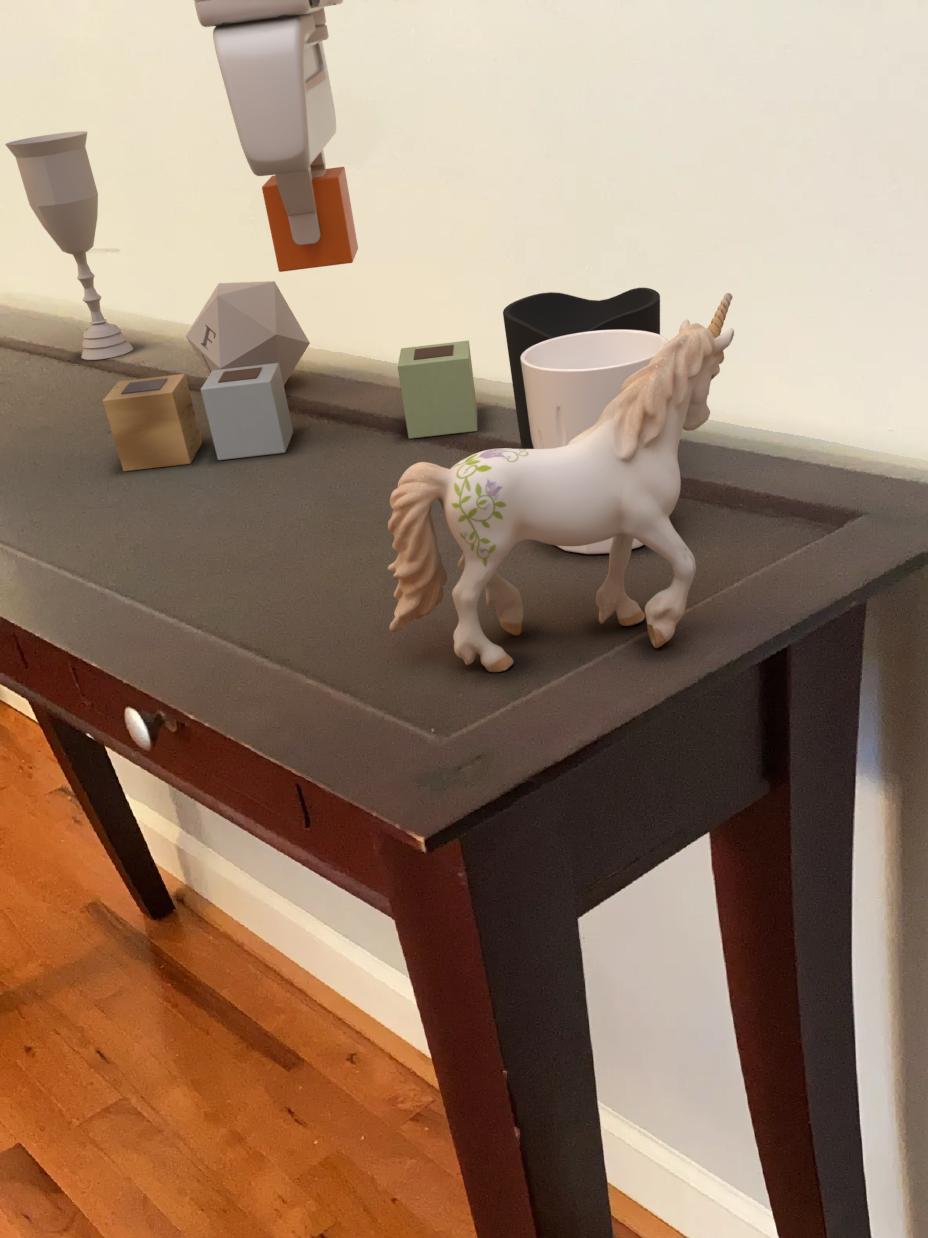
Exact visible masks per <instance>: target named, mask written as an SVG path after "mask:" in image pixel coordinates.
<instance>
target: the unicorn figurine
mask: <svg viewBox="0 0 928 1238" xmlns="http://www.w3.org/2000/svg"><path fill="white" fill-rule="evenodd" d="M732 300H733V294H732V293H730V292H726V293H725V294H724V295H723V298H722V300H720V304H719V305H718V306H717V309H716V311H715V313H714V316H713V317H712V319H711V321H710V324H709V325H708V327H707V328H706V327H705V326H704V325H702V324H700V323H697V322H694V323H690V320H689V319H687V318H685V319H684V320H683V321H682V322H681V324H680V326H679V329H678V332H679V333H677V335H676V336H674V337H673V338H671V339H670V340H668V341H669V342H668V343H667V344H666V345H665V346H664V347H663V348H662V349H661V350H660V351H659V352H658V353H657V354H656V355H655V356H654V357H653V358H652V360H651V361H650V362H649V364H648V365H647V366H646V367H644V368H642V369H640V370H639V371H637V372H636V373H634V374H633V375H631V376H630V377H629V378H628V379H626V380H625V382H624V383H623V386H622V388H621V393H620V394H619V395H618V396H617V397H616V398H615V399H613V400H612V401H611V402H610V403H609V404H608V405H607V406H606V407H605V409H604V411H603V412H602V415H601V416H600V418H599V419H598V421H597V422H596V424H595V425H593V426H592V427H591V428H589V429H587V430H586V431H584V432H582V433H581V434H579V435H578V436H576V437H575V438H574V439H572V440H571V441H570V442H569V443H568V445H567V446H563V447H558V448H552V449H522V448H511V447H505V448H503V447H502V448H491V449H485V450H482V451H478V452H475V453H473V454H471V455H469V456H467V457H465V458H463V459H461V460H459V461H458V462H456V463H455V464H454V465H452V466H451V467H450V468H446V467H443V466H441V465H438V464H436V463H431V462H428V461H427V462H426V461H419V462H416V463H414V464H412V465H410V466H409V467H408V468H407V469H406V470H405V471H404V472H403V474H402V475H401V477H400V478H399V480H398V482H397V488H395V489H394V490H393V491H392V492H391V494H390V498H389V506H390V508H391V509H392V510H393V511H392V514H391V518H390V519H389V520H388V522H387V528H388V532H389V533H390V534H392V535H393V536H394V539H393V542H392V545H391V546H392V549H393V550H394V551H395V552H397V553H398V554H397V557H396V559H395V560H394V562H392V563H390V564H389V565H388V567H387V570H388V571H390V572H393V579H395V580H398V584H397V586H396V588H395V590H394V592H393V597H394V598H395V599H396V600H397V601H398V602H397V605H396V607H395V609H394V612H393V614H394V618H393V620H391V622H390V625H389V631H390V632H392V633H397V632H400V631H402V629H404V628H405V627H406V626H407V625H408V624H410V623H411V622H412V621H413V620H420V619H423V618H424V617H426V616H428V615H430V614H431V613H432V611H433V610H435V608H436V606H438V605H439V604H440V603H441V602H442V601H443V600H442V599H443V598H444V594H445V593H444V586H445V585H446V584H447V582H448V581H447V580H448V574H447V573H448V572H447V570H446V568H445V567H446V566H445V565H444V564H443V560H442V559H443V557H442V554H441V551H440V550H439V545H438V538H437V534H436V530H435V525H434V524H435V523H434V521H433V517H432V515H431V514H432V504H433V502H434V500H438V502H439V504H440V507H441V509H442V511H443V512H444V517H445V518H444V519H445V521H446V524H447V527H448V529H449V531H450V533H451V535H452V538H453V539H454V540H455V542H456V544H457V545H458V547H459V548H460V549H461V552H462V555H461V557H460V558H459V560H458V562H457V569H458V570H459V572H461V576H460V577H459V579H458V581H457V583H456V584H455V586H454V587H453V589H452V590H451V595H452V600H453V604H454V607H455V610H456V613H457V617H458V623H457V625H456V628H455V630H453V635H452V637H453V641H454V642H453V648H454V649H453V651H454V653H455V656H457V657H458V658H460V659H462V660H463V661H464V664H465V665H466V666H469V665H471V664H472V663H473V662H474V661H475V659H476V657H477V656H479V657H480V658H479V659H480V663H481V665H482V666H483V667H485V669H486V671H488V672H490V673H500V672H505V671H506V670H508V669H509V668H510V667H511V666H513V664H514V659H513V657H511V656H510V655H509V654H508V653H507V652H506V651H505V650H504V648H503V646H500V645H497V644H495V643H493V642H492V641H490V639H489V638H487V636H486V635H485V633H484V631H483V629H482V626H481V623H480V619H479V613H478V604H479V600H480V597H481V594H482V593H483V591H484V590H485V602H486V606H487V608H488V609H490V610H491V611H492V612H495V613H496V616H497V618H498V619H499V625H500V627H501V628H502V629H503V630H505V631H506V632H507V633H509V634H510V635H513V636H519V635H521V633H522V631H523V630H522V628H523V620H524V605H523V600H522V595H521V592H520V590H519V589H518V588H517V587H516V586H515V585H513V584H512V583H510V582H509V581H508V580H506V579H505V578H504V577H502V576H501V575H500V574H498V572H497V571H498V569H499V567H500V566H501V564H502V562H503V561H504V560H505V559H506V557H507V556H508V555H509V553H510V552H511V551H512V550H513V549H514V547H515V546H516V545H517V544H518V543H520V542H523V541H535V542H539V543H542V544H544V545H545V544H546V545H551V546H555V545H556V547H557V546H583V545H588V544H593V543H597V542H601V541H604V540H607V539H610V538H612V537H613V543H612V546H611V548H610V553H608V554H609V556H608V557H609V559H608V573H607V576H606V578H605V579H604V581H603V583H602V584H601V586H600V587H599V588H598V589H597V591H596V594H595V603H596V606H597V607H598V610H599V612H598V622H599V623H600V624H601V625H604V623H605V622H606V620H607V619H608V618H610V617H611V616H612V615H613V614H614V613H615V614H616V617H617V620H618V623H619V625H621V626H623V627H632V626H635V625H637V624H640V623H642V622H643V620H645V619H646V627H647V633H648V636H649V639H650V643H651V645H652V646H653V647H654V648H655V649H658V648H660V647H662V646H663V645H664V644H666V643H667V642H668V641H670V640H671V639H672V637H673V636H674V635H675V632H676V628H677V627H676V626H677V624H678V623H679V622H680V621H681V619H682V618H683V616H684V615H685V612H686V608H687V601H688V595H689V592H690V589H691V587H692V584H693V581H694V578H695V575H696V571H697V564H696V559H695V556H694V554H693V552H692V551H691V550H690V548H689V546H687V544H686V543H685V541H684V540H683V539H682V537H681V536H680V534H679V533H678V532H677V531H676V529H675V527H674V525H673V524H672V522H671V520H670V515H672V513H673V511H674V510H675V508H676V505H677V503H678V500H679V498H680V494H681V486H682V483H681V482H682V479H681V470H680V465H679V460H678V457H679V456H678V454H679V452H678V450H679V446H680V441H681V437H682V432H683V430H684V431H688V432H690V431H695V430H697V429H699V428H700V427H701V426H702V425H704V424H705V423H706V422H707V421H708V420H709V418H710V415H711V410H710V408H709V406H708V404H707V403H708V396H709V394H710V389H711V388H710V387H711V383H712V380H713V379H714V378H716V377H717V376H718V374H719V373H720V371H721V368H720V365H721V364H723V362H724V360H725V353H724V350H726V349H727V348H728V347H729V346H730V345H731V344H732V341H733V339H734V336H735V330H734V329H733V328H732V327H730V328H729V329H728V330H726V331H725V332H722V328H723V327H724V323H725V320H726V318H727V315H728V311H729V307H730V306H731V301H732ZM721 333H722V334H721ZM634 538H635V539H637V540H638V541H640V542H641V543H643V544H644V545H643V546H646V547H647V548H649V549H650V550H652V552H655V553H657V554H658V555H659V556H660V557H662V558H663V559H665V560H666V561H667V562H669V564H670V565H671V569H672V572H673V577H672V581H671V583H670V585H669V587H667V588H665V589H663V590H660V591H658V592H657V593H655V594H654V595H653V597H651V598H650V599H649V600H648V601H647V603H646V604H645V606H644V611H643V609H641V607H640V605H639V603H638V602H637V601H636V600H634V599H633V598H632V599H631V598H630V597H629V596H628V594H627V592H626V589H625V573H626V570H627V568H628V565H629V563H630V562H629V561H630V558H631V556H632V550H633V549H632V542H633V539H634Z"/></svg>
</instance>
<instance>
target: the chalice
mask: <svg viewBox="0 0 928 1238" xmlns="http://www.w3.org/2000/svg"><path fill="white" fill-rule="evenodd" d="M87 138H88V131H85V130H84V131H83V130H82V131H81V130H79V131H67V132H59V133H52V134H51V133H50V134H44V135H38V136H31V137H27V138H22V139H17V140H13V141H9V142H7V143H5V144H4V145H5V146H6V147H7V149H8V150H9V151H10V152H11V154H12V155H13V157H15V160H16V164H17V168H18V171H19V173H20V177H21V181H22V184H23V188H24V190H25V194H26V198H27V201H28V204H29V206H30V208H31V210H32V212H33V213H34V215H35V216H36V219H37V220H38V221H39V223H40V224H41V226H42V227H43V228H44V230H45V231H46V232H47V234H48V235H49V237H51V239H52V241H54V243H55V244H56V246H58V248H59V249H60V250H61V252H62V253H66V254H69V255H72V256H73V258H74V261H75V262H76V265H77V280H78V282H80V283H81V285H82V287H83V291H84V295H83V298H82V301H83V302H84V303H85V304H86V305H87V307H88V309H89V311H90V316H91V321H90V322H89V324H91V325H90V326H89V327H87V328H85V329H84V331H83V335H82V338H83V340H82V344H81V348H82V352H81V357H80V358H81V359H83V360H86V361H92V360H93V361H95V360H104V359H111V358H115V357H119V356H123V355H126V354H128V353H131V352H132V351H133V350H134V347H133V346H132V345H131V343H130V342H129V341H128V340H127V336H126V335H125V334H124V333H123V332H122V329H121V328H120V327H119V326H118V325H116V324H115V323H109V322H107V321H108V319H106V318H105V317H104V314H103V313H102V311H101V303H100V301H101V299H102V296H101V295H100V294H99V293H98V292H97V290H96V288H95V284H94V279H95V277H96V275H95V274H94V273H93V271H92V270H91V268H90V266H89V264H88V260H87V252H89V251H90V250H91V249H92V248H93V247H94V246H95V245H94V244H95V237H96V229H97V223H98V215H99V214H98V213H99V212H98V211H99V210H98V209H99V192H98V188H97V185H96V181H95V178H94V177H95V176H94V174H93V170H92V167H91V166H92V165H91V163H90V159H89V154H88V152H87V147H86V144H87Z"/></svg>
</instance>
